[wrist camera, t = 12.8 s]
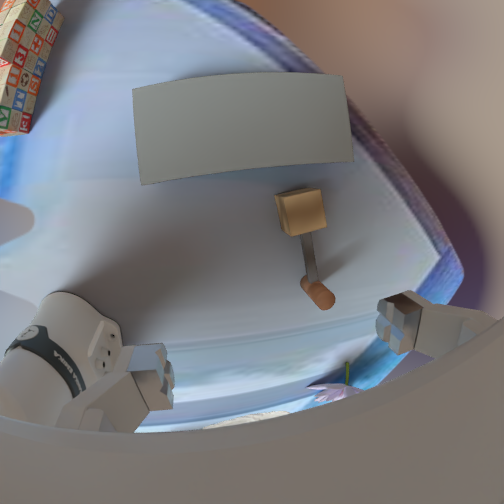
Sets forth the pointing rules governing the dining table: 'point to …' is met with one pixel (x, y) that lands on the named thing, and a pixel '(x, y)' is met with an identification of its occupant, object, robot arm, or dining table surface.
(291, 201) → the toy hammer
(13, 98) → the stack of blocks
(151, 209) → the dining table surface
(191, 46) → the dining table surface
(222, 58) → the dining table surface
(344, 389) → the water lily
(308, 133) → the shelf
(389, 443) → the robot arm
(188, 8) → the dining table surface
